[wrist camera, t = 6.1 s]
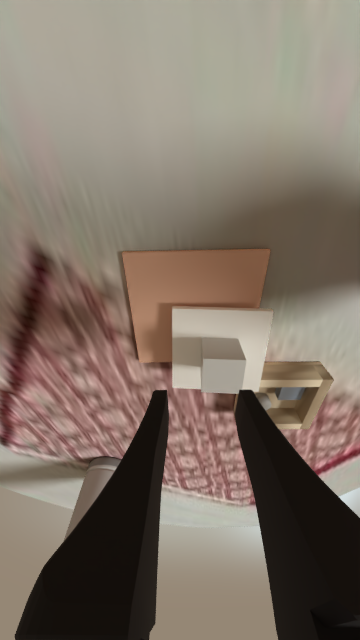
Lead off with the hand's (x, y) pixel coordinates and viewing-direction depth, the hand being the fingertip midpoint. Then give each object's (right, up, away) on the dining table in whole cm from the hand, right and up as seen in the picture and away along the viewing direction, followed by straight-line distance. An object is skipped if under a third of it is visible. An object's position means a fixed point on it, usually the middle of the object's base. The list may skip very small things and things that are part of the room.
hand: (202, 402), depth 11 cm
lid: (+2, +2, +8) cm, 8 cm away
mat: (0, +5, +8) cm, 9 cm away
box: (+9, -3, +13) cm, 16 cm away
